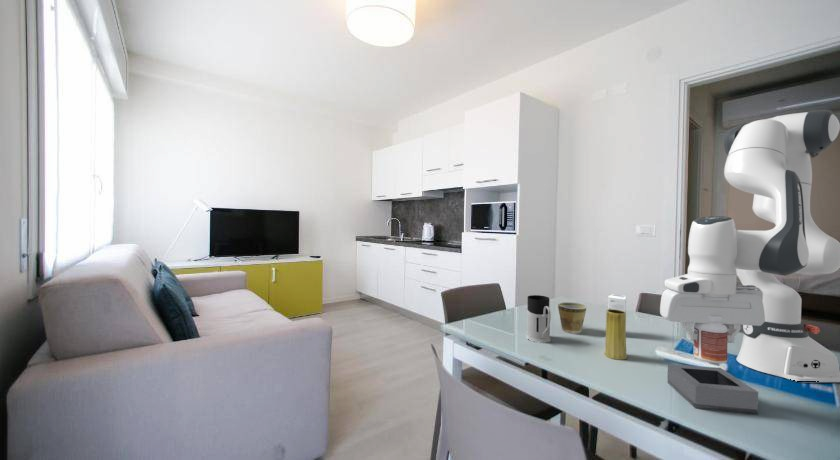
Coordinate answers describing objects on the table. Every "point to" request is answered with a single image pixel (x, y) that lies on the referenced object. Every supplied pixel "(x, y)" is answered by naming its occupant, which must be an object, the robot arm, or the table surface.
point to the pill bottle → (711, 340)
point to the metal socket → (712, 389)
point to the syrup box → (617, 302)
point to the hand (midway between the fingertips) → (709, 340)
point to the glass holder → (538, 319)
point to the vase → (615, 334)
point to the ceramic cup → (572, 316)
